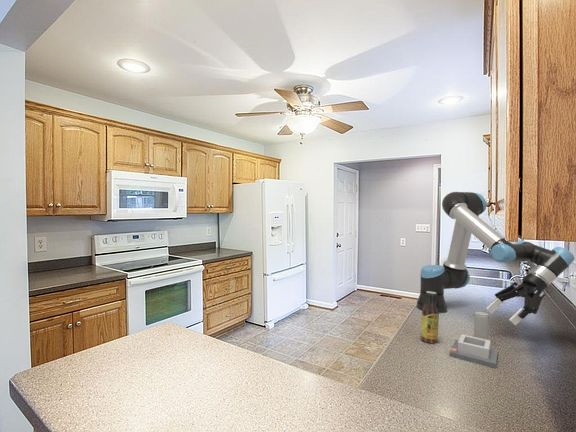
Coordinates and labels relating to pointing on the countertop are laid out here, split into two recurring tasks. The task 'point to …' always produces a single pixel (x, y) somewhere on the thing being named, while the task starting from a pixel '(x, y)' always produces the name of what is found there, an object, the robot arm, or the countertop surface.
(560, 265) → the robot arm
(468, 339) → the socket plate
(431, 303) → the sauce bottle
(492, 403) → the countertop surface
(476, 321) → the beverage can
